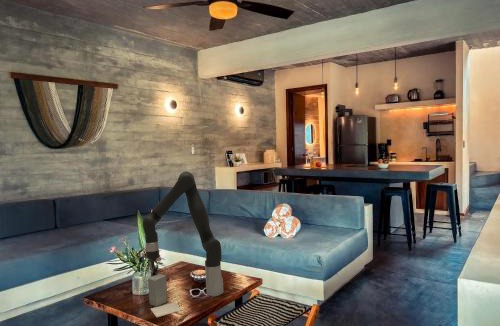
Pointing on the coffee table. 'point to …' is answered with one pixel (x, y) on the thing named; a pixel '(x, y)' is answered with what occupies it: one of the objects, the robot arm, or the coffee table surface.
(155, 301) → the skincare box
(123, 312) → the coffee table surface
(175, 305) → the mat
